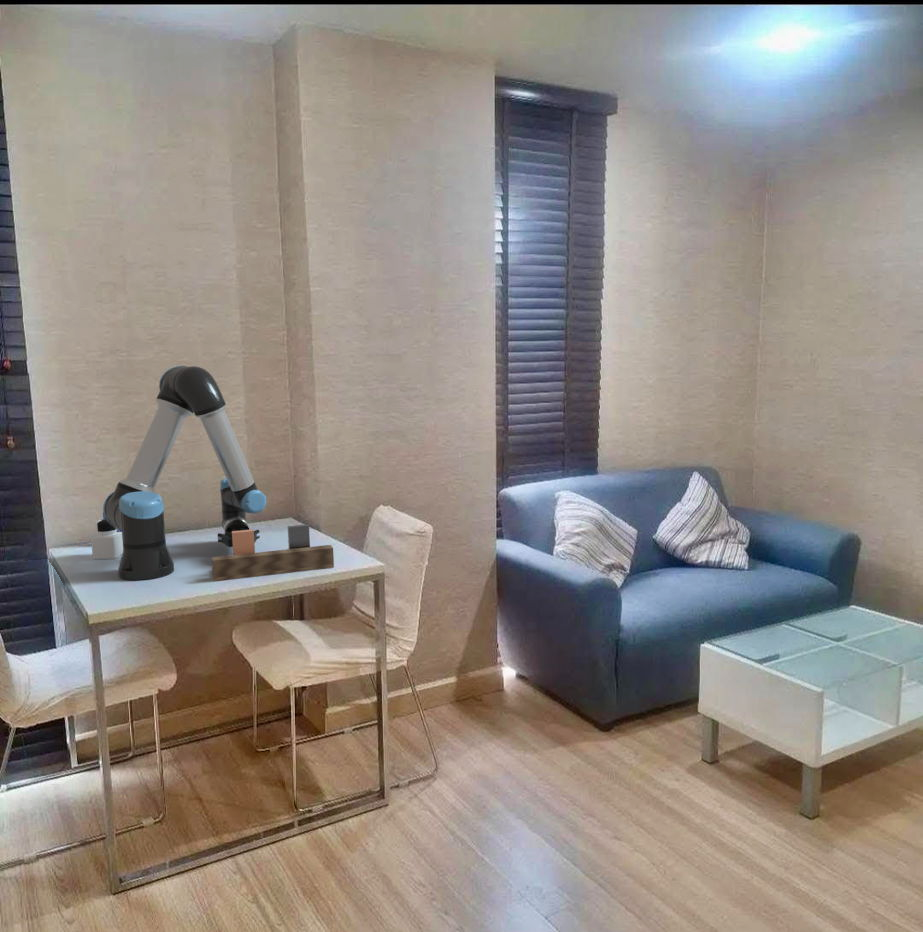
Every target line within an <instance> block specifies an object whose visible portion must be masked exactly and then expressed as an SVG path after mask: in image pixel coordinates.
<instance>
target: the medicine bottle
mask: <svg viewBox="0 0 923 932" xmlns="http://www.w3.org/2000/svg"><path fill="white" fill-rule="evenodd" d="M95 533H96V534H95V535H94V536H92V537H91V539H90V541H91V551H92V554H91V555H92V559H93V560H115V559H117V558H119V557H120V556H122V553H123V540H122V532H117V529H116V528H114V527H113V526H111V525H110V524H109V522H108V521H107V520H106V519H103V518H102V519H98V520H96V521H95Z"/></svg>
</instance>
